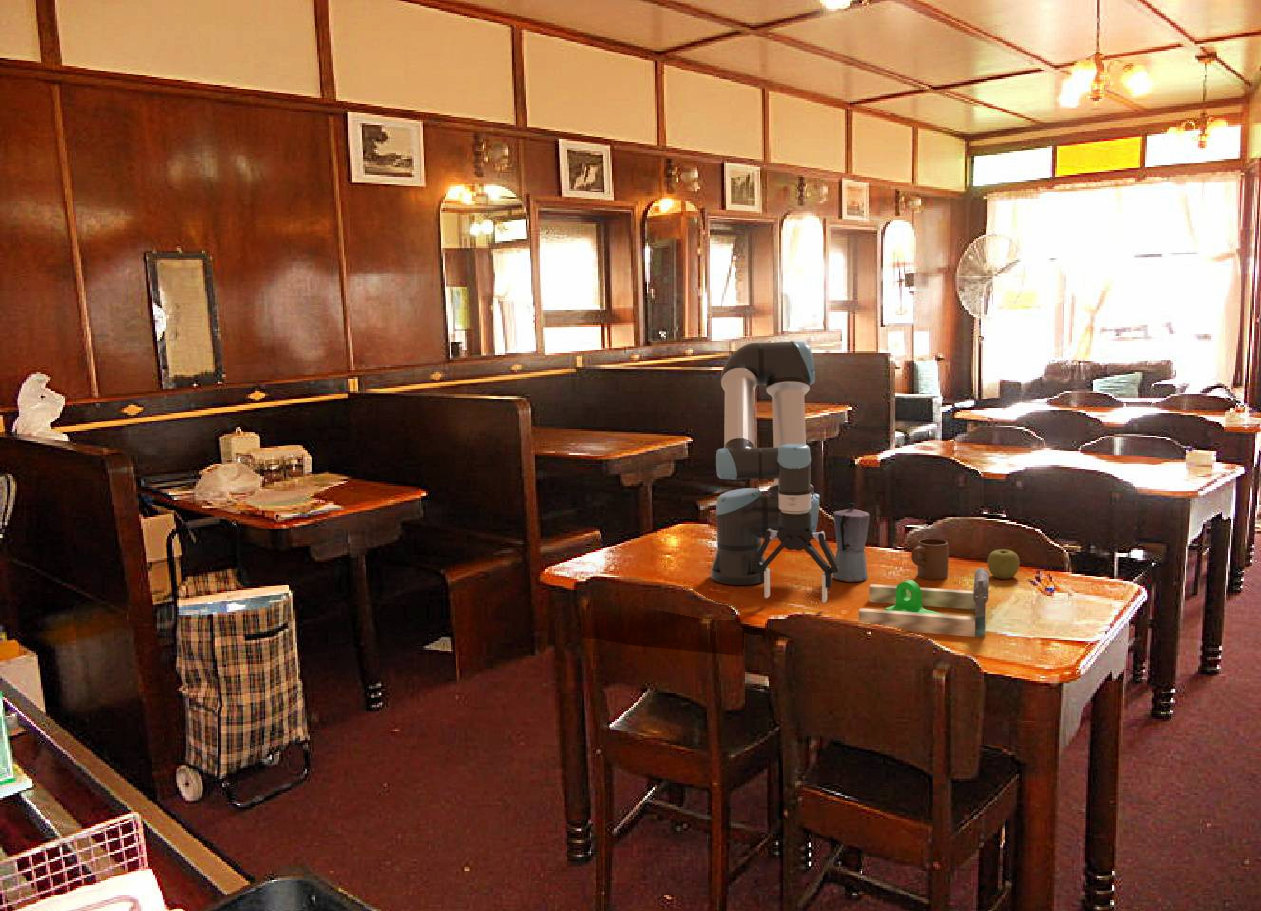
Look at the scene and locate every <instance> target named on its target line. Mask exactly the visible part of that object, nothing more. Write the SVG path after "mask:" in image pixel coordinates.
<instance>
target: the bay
mask: <svg viewBox="0 0 1261 911" xmlns="http://www.w3.org/2000/svg"><path fill="white" fill-rule="evenodd" d="M989 575H990V574H989V570H987V569H986V568H983V567H979V568H977V569H976V570H975V572H974V578H973V579H974V580H973V590H961V589H952V588H951V589H949V588H946V589H945V588H934V587H932V588H931V587H923V586H922V587H920V586H919V587H920V589H921V605H922V607H935V608H938V607H939V608H948V609H949V608H951V609H963V610H975V611H974V613H975V614H974V616H967V615H965V616H963V615H955V614H954V615H953V614H945V615H942V614H943V613H941V614H929V613H916V612H903V611H891V610H885V609H875V608H863V607H860V608H859V610H858V623H859V622H864V623H870V624H878V625H883V626H889V627H893V628H897V629H901V630H906V631H905V632H908V631H912V632H911V633H924V634H932V635H933V634H936V635H945V636H948V635H949V636H958V637H959V636H961V637H970V638H971V637H972V638H986V613H987V612H986V610H987V609H986V608H987V603H988V601H989V583H990V581H989V579H990V578H989V577H990V576H989ZM896 587H897V585H893V584H892V585H891V584H875V583H870V585H869V595H868V596H869V597H868V598H869V600H868V601H869V602H868V603H878V604H879V603H880V604H881V603H882V604H893V605H896ZM906 594H907V596H908V597H909V598H910V599H911V593H910V591H909V590H908V589H906Z"/></svg>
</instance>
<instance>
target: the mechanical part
mask: <svg viewBox="0 0 1261 911" xmlns="http://www.w3.org/2000/svg"><path fill="white" fill-rule="evenodd" d="M896 586H897V587H896V604H893V605H892V606H888V607H885V608H884V610H891V611H903V612H916V613H929V614H942V615H946V614H945V613H941V612H936V611H934V610H929V609H925V608H924V606H922V605H921V589H920V585H919V584H918V583H917V582H916V581H914V580H912V579H908V580H905V581H904V580H903V581H900V582H899V583H898V584H897V585H896ZM906 589H908V590H909V591H910V593H911V599H910V598H909V597H908V596H907V594H906Z"/></svg>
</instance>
